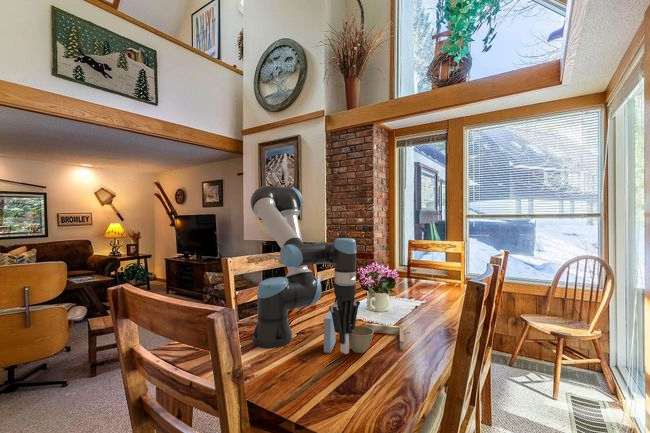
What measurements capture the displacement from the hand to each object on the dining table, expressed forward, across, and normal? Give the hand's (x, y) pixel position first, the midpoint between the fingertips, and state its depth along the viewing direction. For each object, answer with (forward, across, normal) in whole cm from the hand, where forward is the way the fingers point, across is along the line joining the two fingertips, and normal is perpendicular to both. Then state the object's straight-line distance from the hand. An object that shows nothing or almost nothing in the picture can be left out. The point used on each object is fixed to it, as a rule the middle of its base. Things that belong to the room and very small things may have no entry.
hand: (344, 352), depth 102 cm
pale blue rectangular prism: (+2, +1, +9) cm, 9 cm away
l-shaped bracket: (+1, +22, +1) cm, 22 cm away
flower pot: (+2, +8, 0) cm, 8 cm away
